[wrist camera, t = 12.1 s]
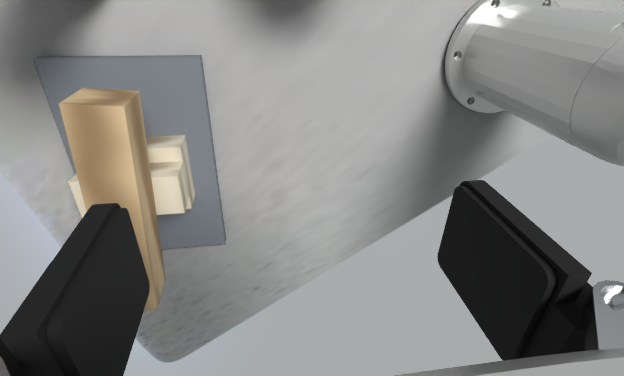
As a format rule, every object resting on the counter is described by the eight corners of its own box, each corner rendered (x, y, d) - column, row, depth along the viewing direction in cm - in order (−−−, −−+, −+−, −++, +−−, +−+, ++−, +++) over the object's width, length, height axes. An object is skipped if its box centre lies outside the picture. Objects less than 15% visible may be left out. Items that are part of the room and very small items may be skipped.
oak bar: (139, 90, 28) (123, 106, 24) (165, 279, 37) (157, 309, 34) (82, 87, 27) (58, 103, 23) (124, 280, 37) (111, 311, 33)
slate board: (201, 55, 34) (199, 57, 33) (225, 238, 45) (225, 244, 44) (39, 56, 32) (32, 59, 31) (107, 247, 43) (104, 253, 42)
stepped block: (184, 135, 36) (174, 161, 31) (195, 193, 40) (187, 225, 34) (89, 138, 35) (62, 166, 30) (109, 199, 38) (87, 232, 33)
